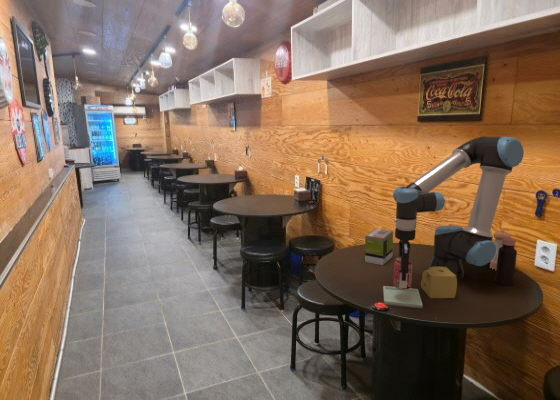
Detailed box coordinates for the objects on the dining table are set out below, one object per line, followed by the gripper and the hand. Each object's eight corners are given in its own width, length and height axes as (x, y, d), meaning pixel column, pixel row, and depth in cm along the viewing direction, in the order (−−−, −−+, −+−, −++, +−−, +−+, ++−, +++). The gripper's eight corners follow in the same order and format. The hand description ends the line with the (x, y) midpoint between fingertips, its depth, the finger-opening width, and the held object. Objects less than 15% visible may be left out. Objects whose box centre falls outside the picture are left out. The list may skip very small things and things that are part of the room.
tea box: (374, 253, 195) (375, 227, 192) (393, 257, 189) (394, 230, 186) (364, 262, 183) (365, 234, 180) (383, 266, 177) (384, 237, 175)
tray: (417, 292, 148) (417, 289, 148) (422, 308, 135) (422, 304, 135) (383, 289, 152) (383, 285, 152) (384, 304, 139) (384, 301, 138)
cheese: (420, 287, 153) (421, 266, 151) (445, 287, 152) (447, 265, 150) (429, 299, 143) (431, 275, 141) (456, 299, 142) (458, 275, 140)
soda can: (409, 284, 145) (411, 256, 143) (412, 291, 138) (414, 262, 136) (391, 283, 146) (393, 255, 144) (393, 290, 140) (395, 261, 138)
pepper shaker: (497, 264, 176) (501, 227, 172) (511, 270, 169) (515, 231, 166) (486, 266, 174) (490, 229, 170) (499, 272, 167) (503, 233, 163)
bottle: (494, 278, 161) (499, 236, 157) (512, 280, 158) (517, 237, 154) (495, 284, 155) (500, 240, 151) (514, 286, 152) (519, 242, 148)
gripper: (393, 221, 148) (390, 273, 153) (397, 235, 129) (393, 293, 134) (412, 222, 146) (409, 274, 151) (418, 236, 127) (414, 295, 132)
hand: (402, 283), depth 142 cm, fingers closed on soda can, 7 cm apart
